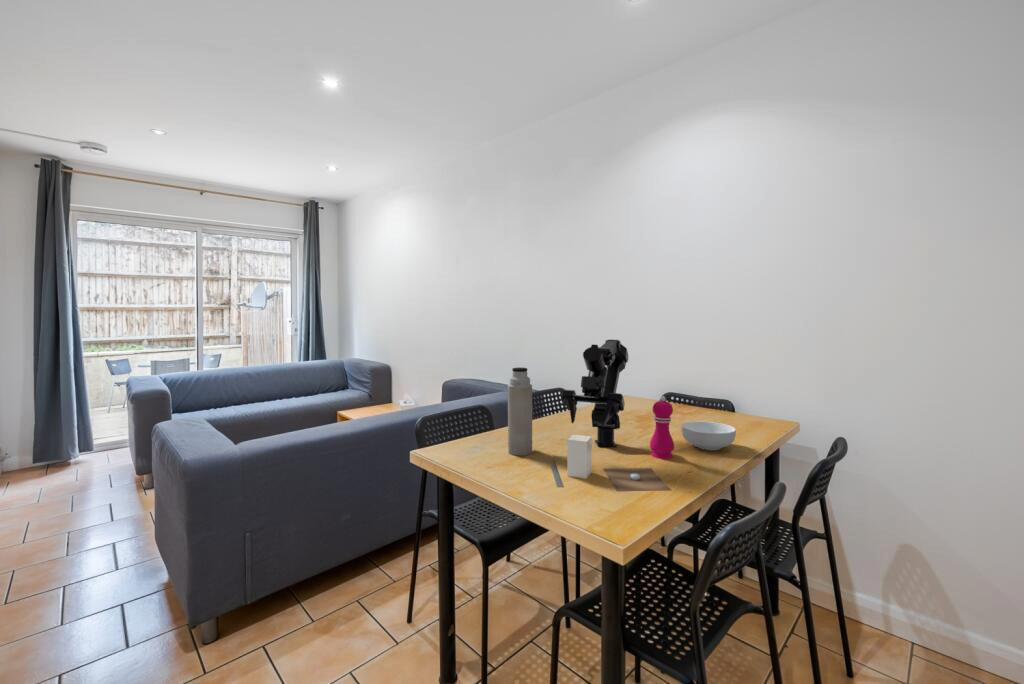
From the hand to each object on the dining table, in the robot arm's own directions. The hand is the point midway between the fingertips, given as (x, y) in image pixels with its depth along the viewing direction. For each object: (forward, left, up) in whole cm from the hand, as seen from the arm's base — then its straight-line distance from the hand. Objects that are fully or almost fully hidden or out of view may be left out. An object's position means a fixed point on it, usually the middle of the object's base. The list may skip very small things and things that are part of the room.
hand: (587, 424), depth 134 cm
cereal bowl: (-19, +45, -14) cm, 50 cm away
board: (+12, +11, -13) cm, 21 cm away
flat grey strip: (+7, -4, -13) cm, 16 cm away
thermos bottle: (-16, -19, -13) cm, 28 cm away
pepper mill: (-7, +25, -13) cm, 29 cm away
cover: (+8, -4, -13) cm, 15 cm away
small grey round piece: (+12, +11, -12) cm, 20 cm away
